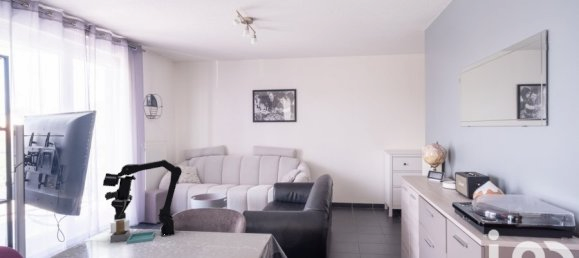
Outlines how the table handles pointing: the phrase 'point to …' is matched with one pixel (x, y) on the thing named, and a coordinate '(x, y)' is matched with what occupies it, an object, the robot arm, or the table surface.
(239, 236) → the table surface
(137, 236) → the tray
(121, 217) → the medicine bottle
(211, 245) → the table surface
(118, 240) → the grey square open box
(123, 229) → the walnut dowel
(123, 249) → the table surface
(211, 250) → the table surface
